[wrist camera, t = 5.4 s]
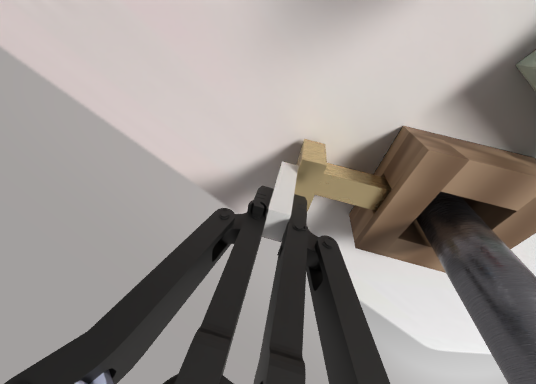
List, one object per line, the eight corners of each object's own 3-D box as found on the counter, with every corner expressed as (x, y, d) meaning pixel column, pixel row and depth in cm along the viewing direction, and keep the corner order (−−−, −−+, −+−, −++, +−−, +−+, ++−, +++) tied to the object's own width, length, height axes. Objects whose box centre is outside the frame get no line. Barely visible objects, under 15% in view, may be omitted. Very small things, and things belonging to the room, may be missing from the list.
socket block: (349, 214, 24) (355, 247, 20) (403, 125, 17) (428, 149, 13) (440, 238, 24) (465, 278, 20) (533, 157, 17) (599, 192, 13)
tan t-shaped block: (291, 181, 22) (286, 205, 19) (304, 138, 19) (301, 159, 16) (371, 202, 22) (382, 231, 18) (398, 162, 18) (416, 188, 15)
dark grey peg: (395, 191, 21) (493, 379, 9) (432, 168, 19) (623, 375, 7) (417, 210, 22) (534, 405, 10) (456, 190, 20) (662, 408, 8)
